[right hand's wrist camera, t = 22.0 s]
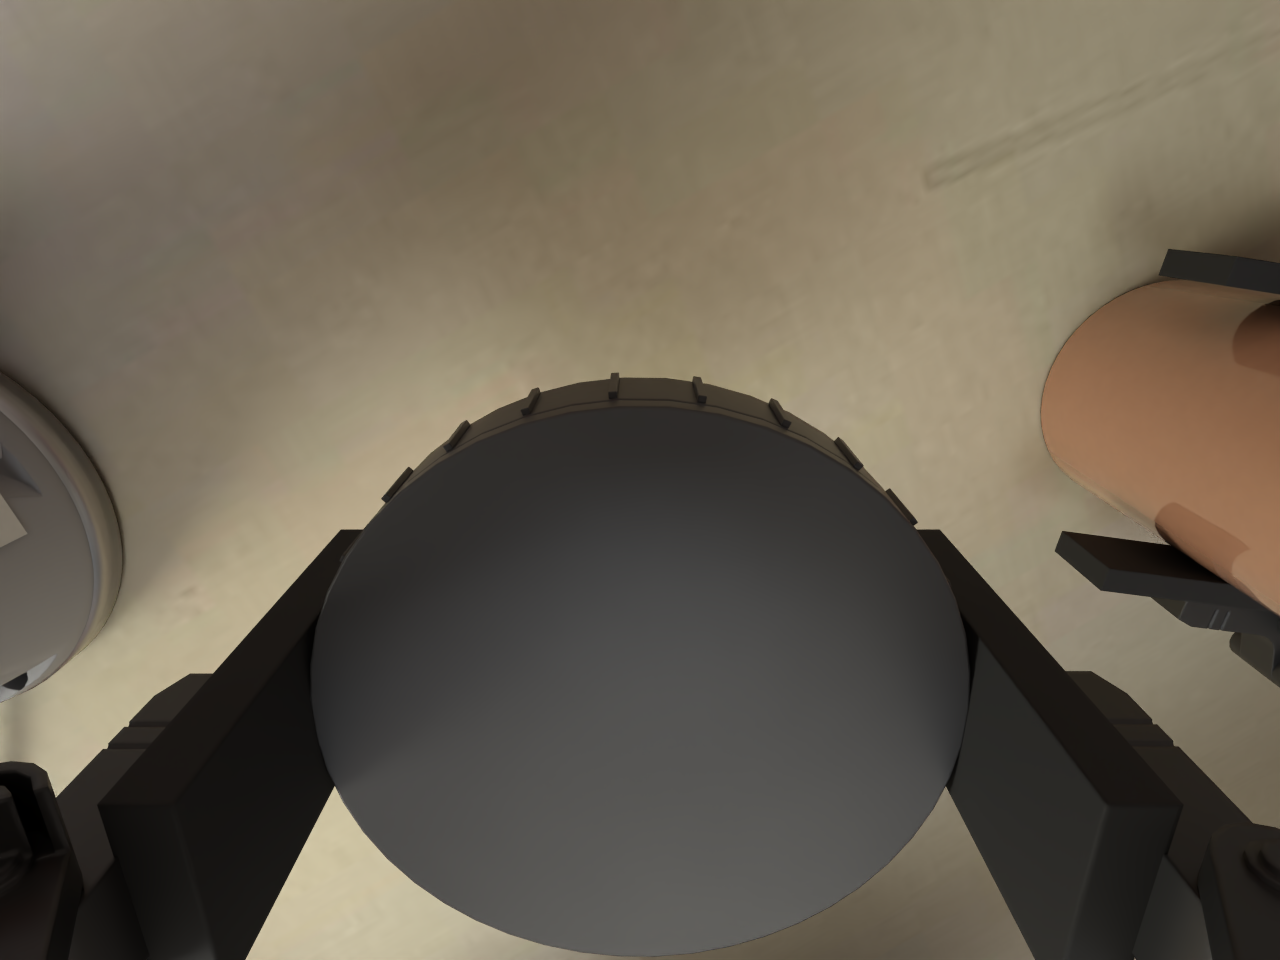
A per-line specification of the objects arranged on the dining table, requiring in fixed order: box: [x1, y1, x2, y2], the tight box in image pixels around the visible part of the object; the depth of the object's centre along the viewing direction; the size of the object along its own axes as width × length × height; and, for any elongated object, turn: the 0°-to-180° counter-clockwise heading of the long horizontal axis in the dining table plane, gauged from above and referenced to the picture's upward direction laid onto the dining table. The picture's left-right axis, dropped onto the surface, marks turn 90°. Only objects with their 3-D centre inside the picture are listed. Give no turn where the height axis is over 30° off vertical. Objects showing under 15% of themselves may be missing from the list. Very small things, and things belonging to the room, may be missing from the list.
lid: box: [310, 373, 970, 957], centre depth 11 cm, size 9×9×2 cm
